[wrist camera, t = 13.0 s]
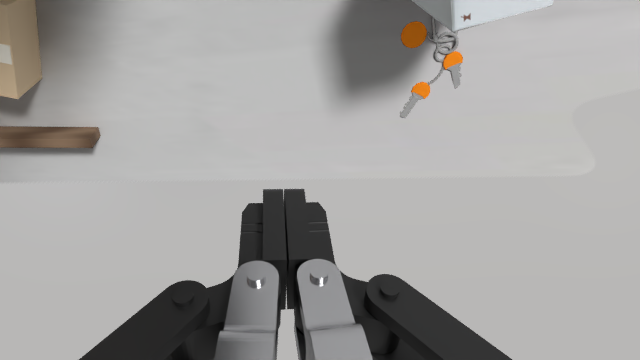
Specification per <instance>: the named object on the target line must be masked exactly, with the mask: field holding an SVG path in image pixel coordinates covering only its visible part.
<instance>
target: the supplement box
mask: <svg viewBox="0 0 640 360" xmlns="http://www.w3.org/2000/svg"><path fill="white" fill-rule="evenodd" d="M411 1H413V2H414V3H415V4H417V5H418V6H419V7H420V8H422V9H423V10H424V11H426V12H427V13H428V14H430V15H431V16H432V17H433V18H435V19H436V20H437V21H439V22H440V23H441V24H443V25H444V26H445V27H447V28H448V29H449V30H451V31H452V32H456V31H459V30H462V29H466V28H470V27H473V26H477V25H480V24H484V23H487V22H491V21H495V20H499V19H503V18H507V17H511V16H514V15H518V14H522V13H526V12H530V11H534V10H538V9H541V8H545V7H548V6H551V5H552V4H553V0H411Z"/></svg>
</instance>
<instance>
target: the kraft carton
mask: <svg viewBox="0 0 640 360" xmlns="http://www.w3.org/2000/svg"><path fill="white" fill-rule="evenodd" d="M41 79H42V72H41V61H40V49H39V38H38V26H37V14H36V3H35V0H0V96H4V97H9V98H14V99H19V98H20V97H21V96H22V95H23V94H25V93H26V92H27V91H28V90H29V89H30V88H32V87H33V86H34V85H35V84H36V83H37V82H38V81H40V80H41Z"/></svg>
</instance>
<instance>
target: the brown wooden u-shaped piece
mask: <svg viewBox="0 0 640 360" xmlns="http://www.w3.org/2000/svg"><path fill="white" fill-rule="evenodd" d="M99 137H100V132H99V128H98V127H0V147H10V148H93V146H94V145H95V143H96V142H97V140H98V139H99Z"/></svg>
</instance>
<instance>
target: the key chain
mask: <svg viewBox="0 0 640 360" xmlns="http://www.w3.org/2000/svg"><path fill="white" fill-rule="evenodd" d="M432 29H433V34H432V37H433V39H430V38H429V32H428V34H427V30H426V27H425V25H423V24H422V23H421V22H417V21H415V22H411V23H409V24H407V25H406V26H405V28H404V29H403V31H402V34H401V40H402V42H403V44H404V45H405V46H406V47H409V48H415V47H418V46H419V45H421V44H422V43H423V42H424V40H425V38H426V36H427V37H428V39H429V40H431V41H433V42H436V48H437V49H436V51H435V54H434V56H435V59H436V60H437V61H439V62H443V66H442V70H440V74H438V75H437V77H435V78H434V80H432V81H430V83H429V82H428V83H424V82H421V83H417V84H416V85H415V86H414V87H413V89H412V91H411V92H412V96H413V97H412V96H411V97H410V99H409V100H410V102H407V103H406V104H405V105H407V106H406V107H404V110H403V111H402V112H400V116H401V117H402V118H406V116H407V115H408V114H409V112H410V111H411V109H412V108H413V107H414V105H415V104H416V103H417V101H418V100H420V99H425V98H426V97H427V96H428V95H429V93H430V86H429V85H430V84H432V83H433V82H434V81H436V80H437V79H438V77H440V75H441V73H442V72H443V69H444V68H445V70H446V69H447V70H450V71H451V75H452V80H453V84H454V88H455V89H456V88H457V87H458V86H459V85H460V77H461V76H462V75H461V74H460V73H459V71H460V67H459V66H460V64H461V63H462V60H463V57H462V55H461V54H460V53H459V52H456V51H455V52H453V51H454V50H455V49H456V48H457V46H458V43H459V41H458V37H457V33H458V31H456V32H454V33H452V32H445V33H443V34H441V35H440V36H439V38H438V39H437V37H438V33H436V34H435V22H434V18H433V17H432ZM446 35H450V36H452V37H451V38H445V39H441V38H442V37H444V36H446ZM453 40H455V45H454V47H453V48H452V49H451V47H450V46H449V45H447V44H443V45H441V46H439V43H440V42H449V41H453ZM442 47H447V48H448V49H449V51H443V50H441V49H440V48H442ZM438 51H439V52H440V53H442V54H448V55H446V57H445V59H439V58H438V57H437V52H438Z"/></svg>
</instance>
